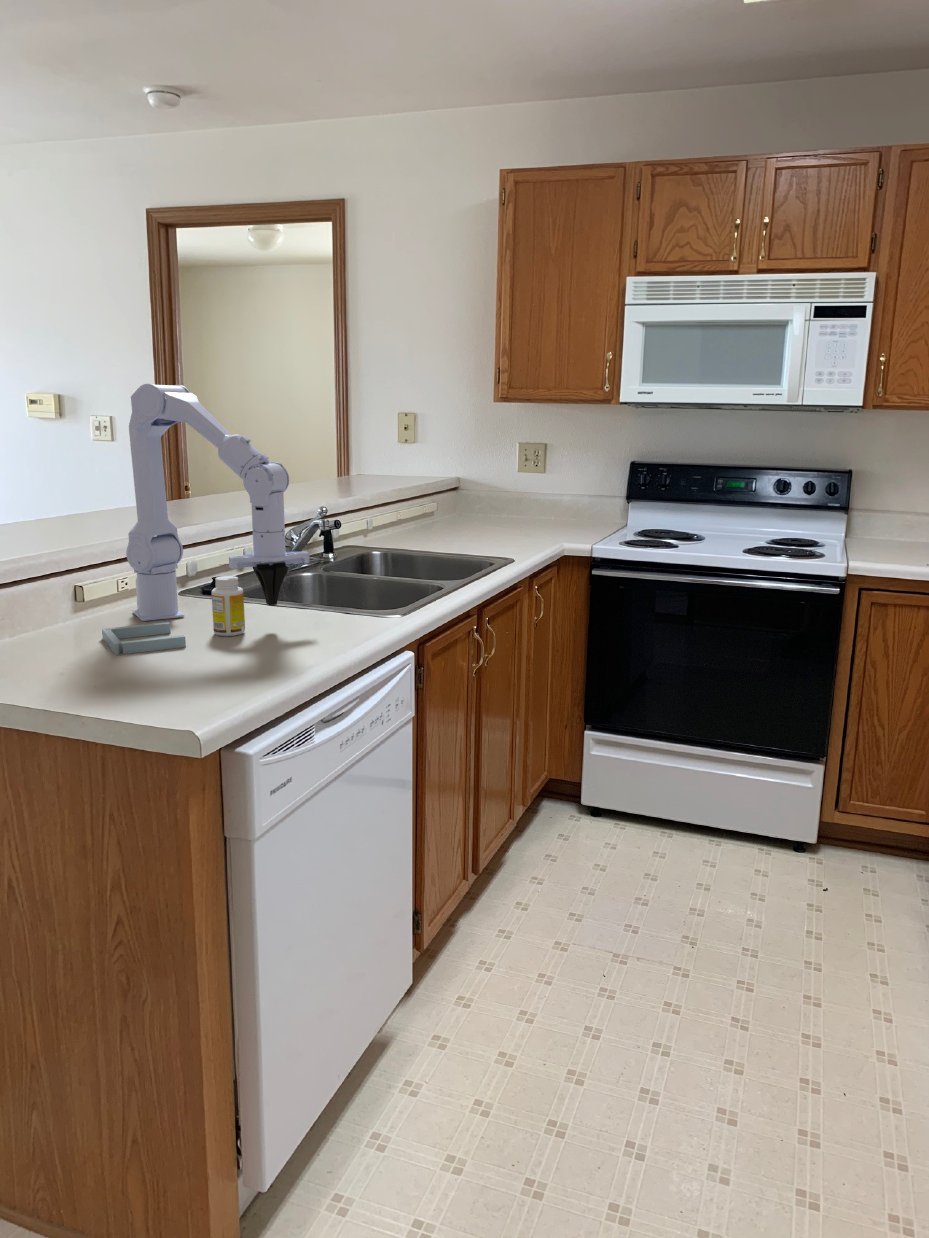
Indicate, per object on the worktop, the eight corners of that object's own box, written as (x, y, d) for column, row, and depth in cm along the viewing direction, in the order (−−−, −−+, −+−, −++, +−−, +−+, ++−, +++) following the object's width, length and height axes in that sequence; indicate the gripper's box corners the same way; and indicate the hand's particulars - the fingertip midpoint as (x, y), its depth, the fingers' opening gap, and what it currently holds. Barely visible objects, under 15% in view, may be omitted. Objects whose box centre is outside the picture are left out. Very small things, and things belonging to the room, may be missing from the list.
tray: (102, 638, 160) (101, 628, 160) (169, 631, 166) (168, 622, 166) (115, 655, 150) (114, 644, 150) (185, 646, 156) (185, 636, 155)
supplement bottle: (247, 629, 168) (244, 574, 166) (243, 636, 163) (240, 580, 161) (216, 629, 168) (213, 575, 166) (211, 637, 163) (208, 580, 160)
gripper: (235, 535, 158) (239, 612, 161) (314, 530, 166) (316, 604, 169) (224, 531, 164) (227, 604, 167) (300, 526, 172) (303, 597, 175)
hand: (271, 604), depth 168 cm, fingers closed
